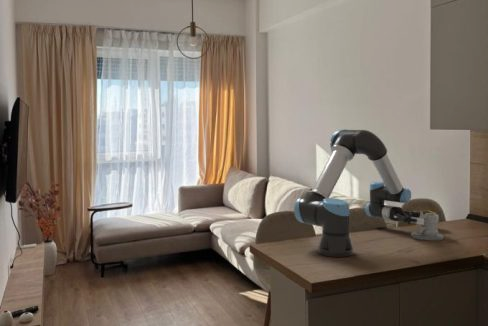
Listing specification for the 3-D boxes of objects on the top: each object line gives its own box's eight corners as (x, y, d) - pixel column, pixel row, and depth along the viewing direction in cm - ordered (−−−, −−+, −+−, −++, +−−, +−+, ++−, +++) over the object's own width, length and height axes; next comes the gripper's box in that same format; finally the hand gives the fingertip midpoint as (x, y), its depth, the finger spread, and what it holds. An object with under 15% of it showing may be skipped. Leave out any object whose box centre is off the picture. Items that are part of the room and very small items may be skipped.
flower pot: (412, 226, 251) (413, 210, 251) (428, 226, 252) (428, 210, 252) (420, 230, 243) (421, 213, 242) (436, 230, 244) (437, 213, 243)
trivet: (415, 240, 222) (415, 238, 222) (407, 233, 237) (407, 231, 237) (447, 241, 221) (448, 238, 221) (437, 233, 236) (437, 231, 236)
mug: (442, 235, 227) (442, 211, 226) (423, 237, 223) (423, 213, 222) (430, 231, 235) (431, 208, 233) (412, 234, 230) (412, 210, 229)
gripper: (405, 217, 251) (443, 223, 235) (378, 223, 236) (417, 231, 219) (406, 203, 251) (443, 209, 234) (379, 209, 235) (417, 215, 219)
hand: (431, 219), depth 227 cm, fingers open, 13 cm apart
